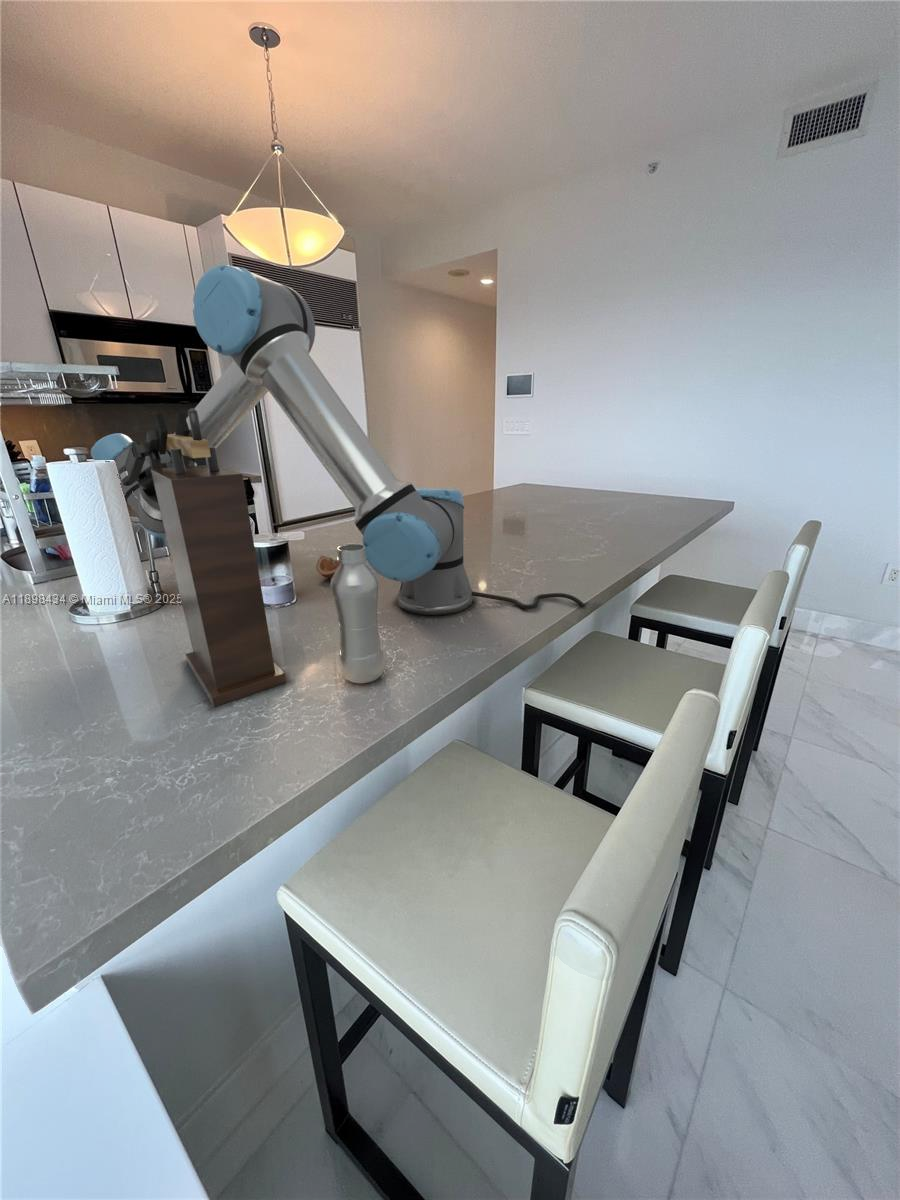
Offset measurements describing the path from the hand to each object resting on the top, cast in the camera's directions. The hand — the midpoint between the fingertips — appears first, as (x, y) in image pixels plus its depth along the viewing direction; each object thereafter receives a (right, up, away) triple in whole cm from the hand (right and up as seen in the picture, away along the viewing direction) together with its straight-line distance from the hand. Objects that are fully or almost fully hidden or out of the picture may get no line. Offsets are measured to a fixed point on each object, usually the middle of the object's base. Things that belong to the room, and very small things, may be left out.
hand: (172, 422), depth 67 cm
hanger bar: (+2, -4, -1) cm, 5 cm away
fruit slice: (+11, -20, +48) cm, 53 cm away
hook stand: (+5, -35, +8) cm, 37 cm away
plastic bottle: (+25, -36, +6) cm, 44 cm away
